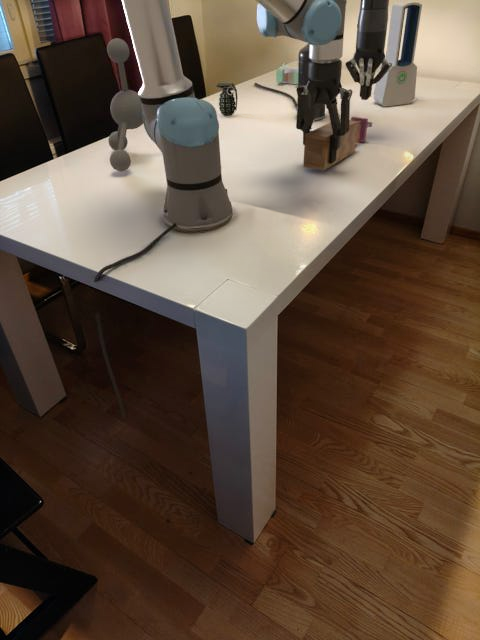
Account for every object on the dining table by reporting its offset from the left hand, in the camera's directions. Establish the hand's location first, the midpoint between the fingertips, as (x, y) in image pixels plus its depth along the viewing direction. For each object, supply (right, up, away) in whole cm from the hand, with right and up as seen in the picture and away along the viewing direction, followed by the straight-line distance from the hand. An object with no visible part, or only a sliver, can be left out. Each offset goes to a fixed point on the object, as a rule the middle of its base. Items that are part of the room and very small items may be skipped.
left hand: (320, 159), depth 125 cm
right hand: (+15, +21, +12) cm, 28 cm away
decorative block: (+6, +61, +81) cm, 102 cm away
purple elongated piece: (+10, +8, +12) cm, 18 cm away
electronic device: (+33, +35, +47) cm, 67 cm away
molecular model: (-48, +6, +15) cm, 51 cm away
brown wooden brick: (+3, +2, +5) cm, 6 cm away
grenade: (-25, +30, +44) cm, 59 cm away
